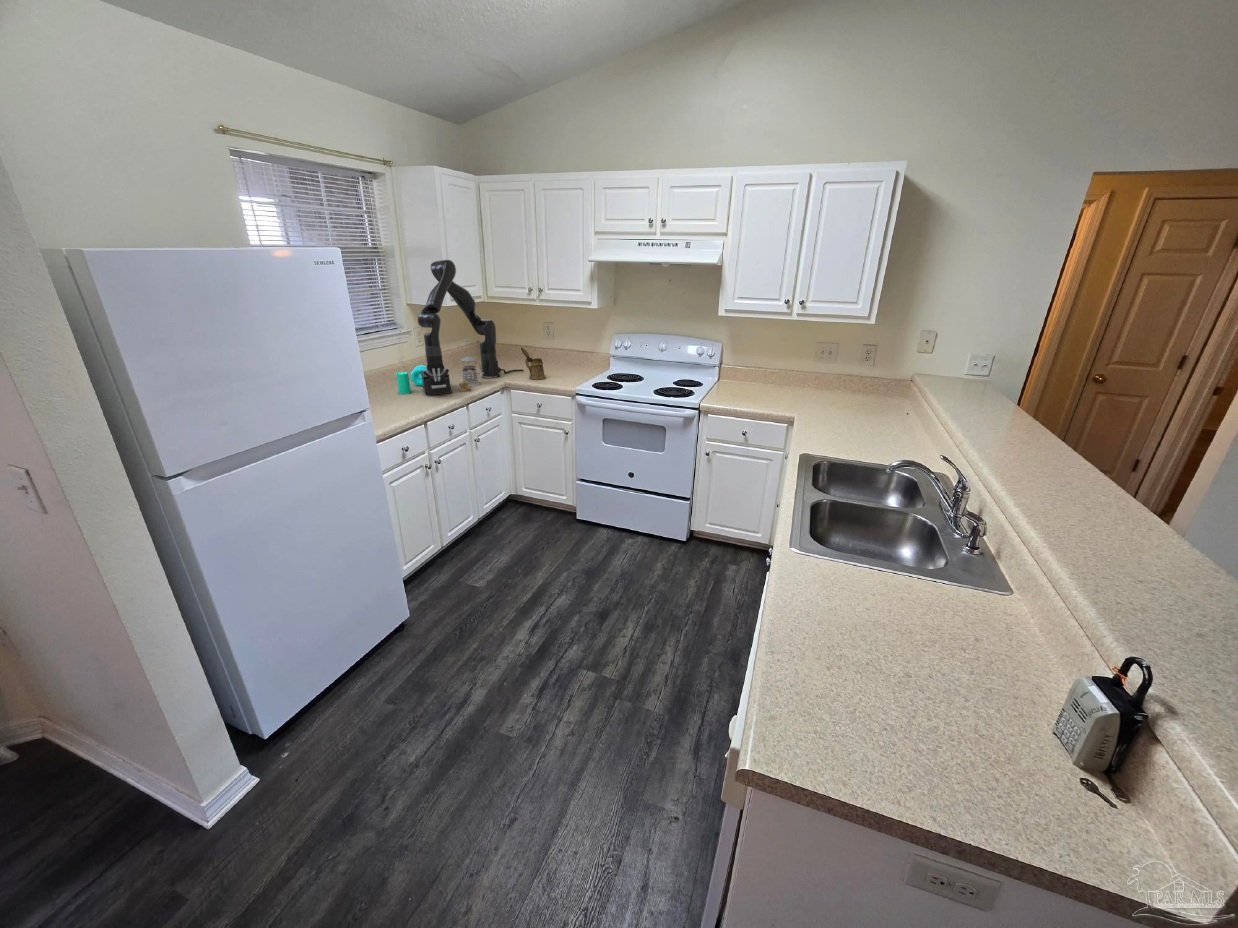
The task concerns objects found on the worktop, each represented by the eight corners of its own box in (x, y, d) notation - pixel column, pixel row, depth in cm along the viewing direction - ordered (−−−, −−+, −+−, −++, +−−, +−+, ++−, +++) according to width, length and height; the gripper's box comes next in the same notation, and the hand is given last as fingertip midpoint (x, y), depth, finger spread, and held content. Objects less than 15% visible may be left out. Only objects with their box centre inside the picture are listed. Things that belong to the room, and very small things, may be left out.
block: (468, 388, 279) (467, 380, 277) (470, 390, 275) (469, 382, 274) (460, 389, 277) (459, 381, 276) (461, 391, 274) (460, 383, 272)
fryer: (451, 392, 272) (448, 374, 268) (425, 395, 267) (423, 376, 263) (447, 386, 284) (445, 369, 280) (423, 388, 279) (420, 371, 275)
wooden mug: (524, 376, 308) (522, 345, 301) (546, 376, 307) (545, 346, 300) (520, 379, 300) (518, 348, 293) (543, 380, 299) (541, 349, 292)
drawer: (452, 395, 264) (450, 380, 261) (428, 397, 259) (426, 382, 256) (447, 386, 279) (445, 372, 276) (425, 389, 275) (423, 374, 272)
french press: (459, 383, 291) (454, 338, 281) (480, 380, 296) (475, 337, 286) (464, 386, 283) (458, 341, 273) (484, 384, 288) (480, 339, 279)
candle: (396, 393, 270) (392, 370, 265) (404, 390, 275) (401, 368, 271) (405, 394, 268) (401, 371, 263) (413, 391, 273) (410, 369, 269)
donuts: (411, 386, 283) (408, 369, 279) (414, 382, 292) (411, 365, 288) (430, 386, 284) (427, 368, 281) (432, 381, 294) (430, 364, 290)
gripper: (446, 352, 261) (450, 385, 268) (419, 353, 256) (424, 387, 263) (448, 354, 255) (452, 388, 261) (420, 356, 250) (425, 391, 256)
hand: (438, 388), depth 262 cm, fingers closed
